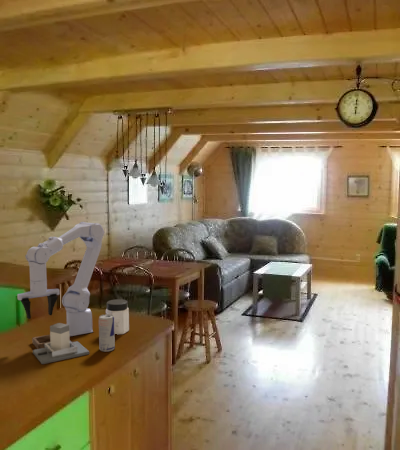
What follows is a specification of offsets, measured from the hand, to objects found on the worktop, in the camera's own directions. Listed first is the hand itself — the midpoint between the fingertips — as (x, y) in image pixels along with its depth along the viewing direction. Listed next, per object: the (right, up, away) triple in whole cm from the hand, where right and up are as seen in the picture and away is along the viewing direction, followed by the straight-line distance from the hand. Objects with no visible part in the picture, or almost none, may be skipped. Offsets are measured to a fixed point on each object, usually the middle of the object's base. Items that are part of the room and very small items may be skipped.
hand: (39, 316), depth 170 cm
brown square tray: (+2, -10, +1) cm, 11 cm away
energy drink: (+25, -11, -4) cm, 28 cm away
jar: (+26, -9, +15) cm, 31 cm away
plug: (+10, -10, -8) cm, 17 cm away
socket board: (+10, -11, -8) cm, 17 cm away
